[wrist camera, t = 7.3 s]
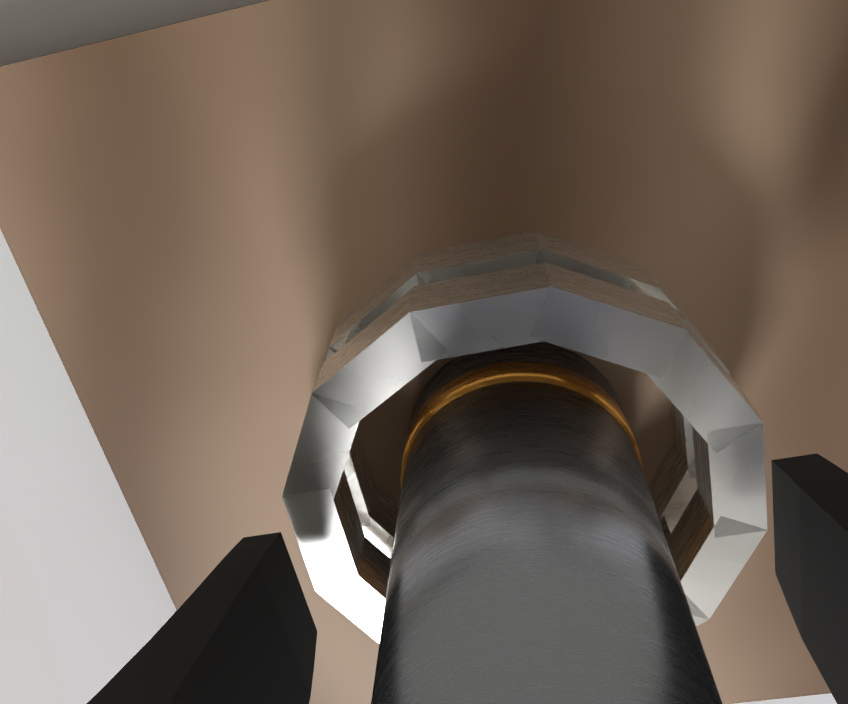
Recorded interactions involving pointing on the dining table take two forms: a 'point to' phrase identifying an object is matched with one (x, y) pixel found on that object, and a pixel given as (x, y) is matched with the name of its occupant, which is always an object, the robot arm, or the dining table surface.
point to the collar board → (425, 239)
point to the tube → (531, 547)
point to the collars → (507, 327)
